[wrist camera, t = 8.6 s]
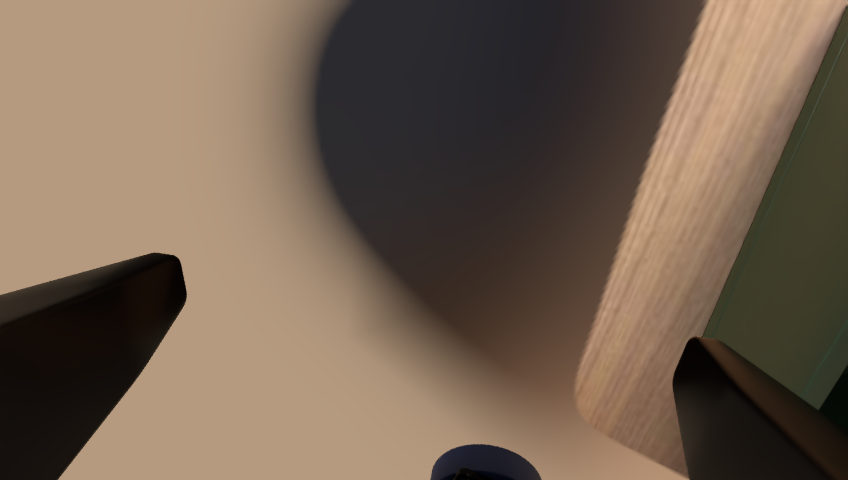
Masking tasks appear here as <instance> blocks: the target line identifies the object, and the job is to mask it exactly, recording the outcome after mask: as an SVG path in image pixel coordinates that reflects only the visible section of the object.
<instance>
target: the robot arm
mask: <svg viewBox="0 0 848 480" xmlns="http://www.w3.org/2000/svg"><path fill="white" fill-rule="evenodd" d="M186 298H187V293H186V286H185V281H184V276H183V272H182V266H181V263H180V260H179V259H178V258H177V257H176V256H174V255H169V254H162V253H150V254H147V255H143V256H139V257H136V258H133V259H129V260H125V261H122V262H118V263H114V264H111V265H107V266H104V267H100V268H96V269H93V270H89V271H86V272H82V273H78V274H75V275H71V276H67V277H64V278H61V279H57V280H53V281H49V282H46V283H43V284H39V285H35V286H32V287H28V288H25V289H21V290H17V291H14V292H10V293H6V294H3V295H0V480H58V479H59V477H60V476H61V475H62V474H63V472H64V471H65V470H66V469H67V467H68V466H69V465H70V464H71V462H72V461H73V460H74V458H75V457H76V456H77V455H78V453H79V452H80V451H81V449H82V448H83V447H84V446H85V444H86V443H87V442H88V441H89V439H90V438H91V437H92V435H93V434H94V433H95V432H96V430H97V429H98V428H99V427H100V425H101V424H102V423H103V421H104V420H105V419H106V418H107V416H108V415H109V414H110V412H111V411H112V410H113V409H114V407H115V406H116V405H117V404H118V402H119V401H120V400H121V398H122V397H123V396H124V395H125V393H126V392H127V391H128V389H129V388H130V387H131V386H132V384H133V383H134V382H135V380H136V379H137V378H138V376H139V375H140V373H141V372H142V370H143V369H144V367H145V366H146V365H147V363H148V362H149V360H150V358H151V357H152V356H153V354H154V352H155V351H156V349H157V348H158V346H159V344H160V343H161V341H162V340H163V338H164V336H165V335H166V333H167V332H168V330H169V329H170V327H171V326H172V324H173V322H174V321H175V319H176V318H177V316H178V315H179V313H180V311H181V310H182V308H183V306H184V305H185V302H186ZM673 393H674V398H675V404H676V409H677V415H678V421H679V426H680V432H681V437H682V443H683V449H684V454H685V460H686V465H687V470H688V474H689V479H690V480H848V431H847V430H846V429H844V428H843V427H841V426H840V425H838V424H837V423H836V422H834V421H833V420H831V419H830V418H829V417H827V416H826V415H824V414H823V413H822V412H820V411H819V410H817V409H816V408H815V407H813V406H812V405H810V404H809V403H808V402H806V401H805V400H803V399H802V398H801V397H799V396H798V395H796V394H795V393H794V392H792V391H791V390H789V389H788V388H787V387H785V386H784V385H782V384H781V383H780V382H778V381H777V380H775V379H774V378H773V377H771V376H770V375H768V374H767V373H766V372H764V371H763V370H761V369H760V368H758V367H757V366H756V365H754V364H753V363H751V362H750V361H749V360H747V359H746V358H744V357H743V356H742V355H740V354H739V353H737V352H736V351H735V350H733V349H732V348H730V347H729V346H728V345H726V344H725V343H723V342H722V341H720V340H717V339H710V338H703V337H697V336H695V337H692V338H690V339H689V341H688V342H687V344H686V346H685V349H684V351H683V353H682V356H681V358H680V360H679V363H678V365H677V368H676V370H675V372H674V376H673ZM451 480H493V479H491V478H489V477H486V476H484V475H482V474H479V473H477V472H475V471H472V470H470V469H468V468H460V469H459V470H458V471H457V472H456V474H455V475H454V476H453V478H452V479H451Z"/></svg>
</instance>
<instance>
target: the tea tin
mask: <svg viewBox="0 0 848 480" xmlns="http://www.w3.org/2000/svg"><path fill="white" fill-rule="evenodd" d="M703 338H710V339H717V340H720V341H722V342H723V343H725V344H726V345H728V346H729V347H730V348H732V349H733V350H735V351H736V352H737V353H739V354H740V355H742V356H743V357H744V358H746V359H747V360H749V361H750V362H751V363H753V364H754V365H756V366H757V367H758V368H760V369H761V370H763V371H764V372H766V373H767V374H768V375H770V376H771V377H773V378H774V379H775V380H777V381H778V382H780V383H781V384H782V385H784V386H785V387H787V388H788V389H789V390H791V391H792V392H794V393H795V394H796V395H798V396H799V397H801V398H802V399H803V400H805V401H806V402H808V403H809V404H810V405H812V406H813V407H815V408H816V409H817V410H819V411H820V412H822V413H823V414H824V415H826V416H827V417H829V418H830V419H831V420H833V421H834V422H836V423H837V424H838V425H840V426H841V427H843V428H844V429H846V430H847V431H848V7H847V9H846V11H845V14H844V16H843V18H842V20H841V23H840V25H839V27H838V30H837V32H836V34H835V36H834V39H833V41H832V43H831V46H830V48H829V50H828V52H827V55H826V57H825V59H824V62H823V64H822V66H821V68H820V71H819V73H818V75H817V77H816V80H815V82H814V84H813V87H812V89H811V91H810V93H809V96H808V98H807V100H806V103H805V105H804V107H803V109H802V112H801V114H800V116H799V119H798V121H797V123H796V125H795V128H794V130H793V132H792V134H791V137H790V139H789V141H788V144H787V146H786V148H785V150H784V153H783V155H782V157H781V160H780V162H779V164H778V166H777V169H776V171H775V173H774V176H773V178H772V180H771V182H770V185H769V187H768V189H767V191H766V194H765V196H764V198H763V201H762V203H761V205H760V207H759V210H758V212H757V214H756V217H755V219H754V221H753V223H752V226H751V228H750V230H749V233H748V235H747V237H746V239H745V242H744V244H743V246H742V248H741V251H740V253H739V255H738V258H737V260H736V262H735V264H734V267H733V269H732V271H731V274H730V276H729V278H728V280H727V283H726V285H725V287H724V290H723V292H722V294H721V296H720V299H719V301H718V303H717V305H716V308H715V310H714V312H713V315H712V317H711V319H710V321H709V324H708V326H707V328H706V331H705V333H704V335H703Z"/></svg>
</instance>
